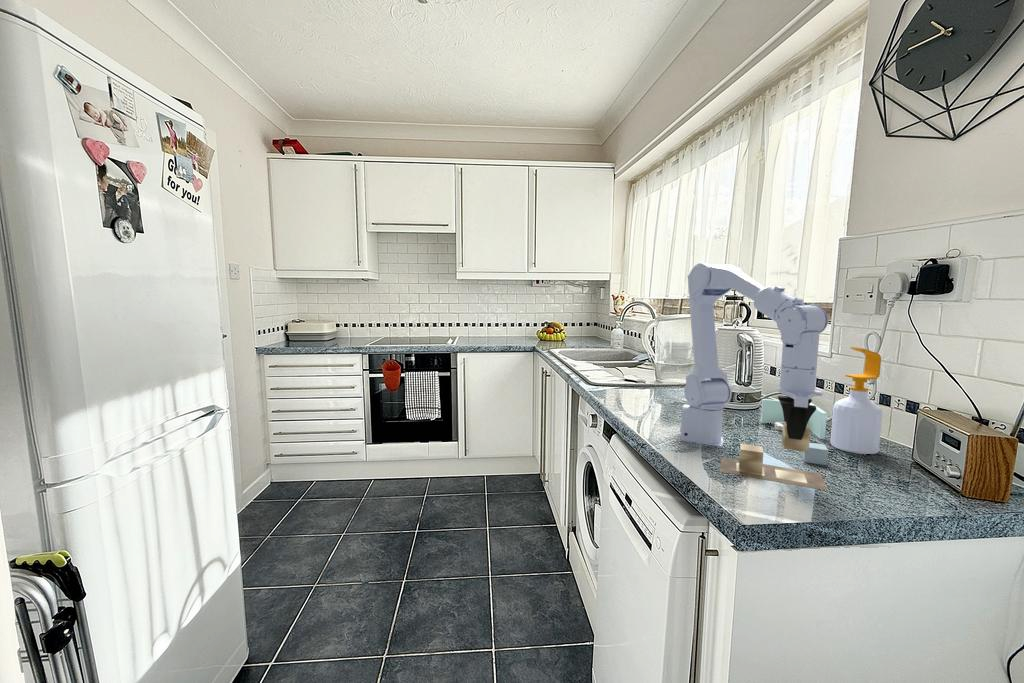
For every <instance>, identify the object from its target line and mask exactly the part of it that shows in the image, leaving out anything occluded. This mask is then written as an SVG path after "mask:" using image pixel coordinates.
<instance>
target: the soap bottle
mask: <svg viewBox="0 0 1024 683" xmlns="http://www.w3.org/2000/svg"><path fill="white" fill-rule="evenodd" d="M850 349H851V350H853V351H856V352H860V353H862V354H864V356H865V357H864V369H863V373H861V374H855V373H854V374H845V377H847V378H851V379H852V382H854V386H850V388H849V395H848V396H847V397H844V398H841V399H839V400H836V401H835V403H834V405H833V406H832V418H831V420H832V421H831V431H830V432H831V433H830V445H831V446H832V447H834V448H835V449H838V450H840V451H843V452H847V453H850V454H851V453H852V454H858V455H863V454H864V455H865V456H866V454H871V455H877V454H878V453H879V451H880V443H881V433H882V420H883V411H882V408H881V407H880V406H879V405H877V404H876V403H875V402H874V401H872V400H870V399H869V397H868V395H869V394H868V393H869V389H868V387H865V383H868V380H877V379H879V377H880V375H881V366H882V356H881V355H880V354H879V353H878V352H875V351H873V350H869V349H866V348H862V347H856V346H855V347H854V346H850Z"/></svg>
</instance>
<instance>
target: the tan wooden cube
mask: <svg viewBox="0 0 1024 683" xmlns="http://www.w3.org/2000/svg"><path fill="white" fill-rule="evenodd" d="M810 437H811V431H810V428H809V426H808V424H807V426H806V429H805V432H804V435H803V438H802V440H797V439H790V438H789V437H788V433H787V425H786V422H785V421H783V431H782V437H781V438H782V439H781V444H782V447H783V449H784V450H789V451H797V452H801V453H802V452H809V443H810V440H811V438H810Z"/></svg>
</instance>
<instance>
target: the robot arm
mask: <svg viewBox="0 0 1024 683" xmlns="http://www.w3.org/2000/svg"><path fill="white" fill-rule="evenodd" d="M687 285H688V294H689V297H688V299H689V300H688V302H689V303H688V304H689V314H690V326H691V327H690V328H691V339H692V351H693V363H694V364H693V365H694V369H693V370H691V371H690V372H689V373H688V374H687V375H686V376H685V387H684V392H683V393H684V398H685V400H686V402H687V403H688V404H683V405H682V410H681V420H680V426H679V427H680V430H679V431H680V439H679V440H680V441H682V442H691V443H696V444H702V445H709V446H717V447H723V445H724V444H723V443H724V437H723V436H722V432H723V418H724V416H723V415H724V414H723V413H724V409H725V408H726V405H727V404H728V403H729V402H730V401H731V399H732V387H731V385H730V383H729V381H728V380H729V379H728V374H726V373H725V372H724V371H723V370H722V369H721V368H720V367H719V359H718V358H719V356H718V346H717V335H716V334H717V333H716V324H715V313H714V312H715V310H714V305H715V303H716V302H717V301H718V300H720V299H721V298H723V297H724V296H725V295H726V294H728V293H729V292H730V291H731V290H733V291H735V292H737V293H739V294H741V295H742V296H745V297H746V298H748V299H750V300H752V301H753V306H754V309H755V310H757V311H758V312H760V313H761V314H763V315H764V316H766V317H767V318H769V319H771V320H772V321H773V322H775V323H776V326H777V329H778V331H779V332H780V340H781V343H782V350H781V365H780V375H779V376H780V378H779V387H778V388H777V391H778V393H780V394H782V395H777V400H779V401H780V404H781V406H782V409H783V415H784V421H785V422H786V425H787V433H788V437H789V438H790V439H797V440H802V438H803V435H804V432H805V429H806V426H807V423H808V421H809V419H810V417H811V416H812V414H813V413H814V412H815V410H816V408H817V407H818V406H817V405H815V404H814V405H815V406H814V405H809V404H810V403H812V401H813V400H812V398H814V397H822V396H823V391H822V390H816V380H817V369H818V368H817V367H818V356H819V344H820V342H819V341H820V334H821V333H823V332H824V331H825V329H826V328H827V327H828V323H829V316H828V314H827V311H826V310H825V309H824V308H823V307H821V306H820V305H819V304H808V305H807V304H805V303H804V299H802V298H800V297H794V296H793V295H791V294H789V293H787V292H785V290H786V288H785V287H783V286H780V285H775V286H774V285H771V286H770V285H769V286H767V287H765V286H764V285H762V284H761V283H759V282H758V281H756V280H755V279H753V278H752V277H751V276H749V275H748V274H746V273H745V272H743V271H742V268H740V267H737V266H735V265H734V264H732V263H731V264H716V263H715V264H713V263H711V264H710V263H703V262H699V263H697V264H695V265H694V266H693V267H692V269H691V271H689V274H688V275H687ZM705 379H708V380H705ZM709 379H710V380H709ZM816 406H817V407H816Z"/></svg>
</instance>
